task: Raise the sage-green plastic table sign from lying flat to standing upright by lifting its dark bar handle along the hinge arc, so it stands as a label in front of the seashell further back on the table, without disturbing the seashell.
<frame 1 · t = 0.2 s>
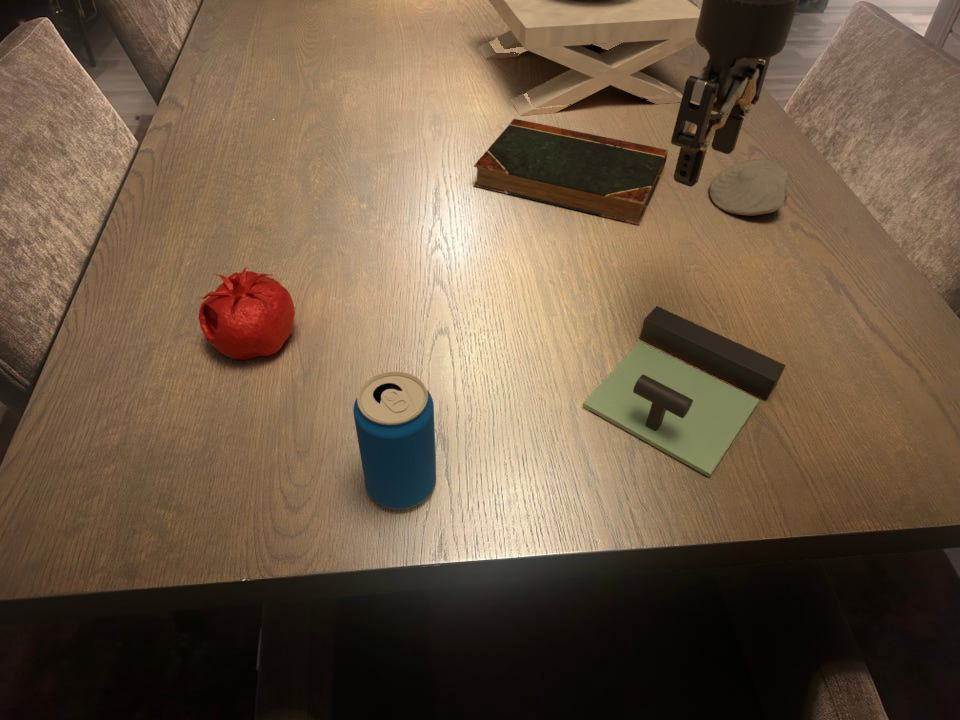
hand: (704, 166, 67), 19 cm above the table, tool pointing down, fingers open, 8 cm apart
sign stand: (697, 371, 73), on the table
seashell: (743, 201, 99), on the table
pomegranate: (255, 339, 75), on the table
book: (570, 178, 102), on the table
sign: (677, 385, 67), point 3 cm above the table, hinge at 0.0°
wooden side table: (576, 73, 130), on the table
beverage can: (401, 484, 62), on the table
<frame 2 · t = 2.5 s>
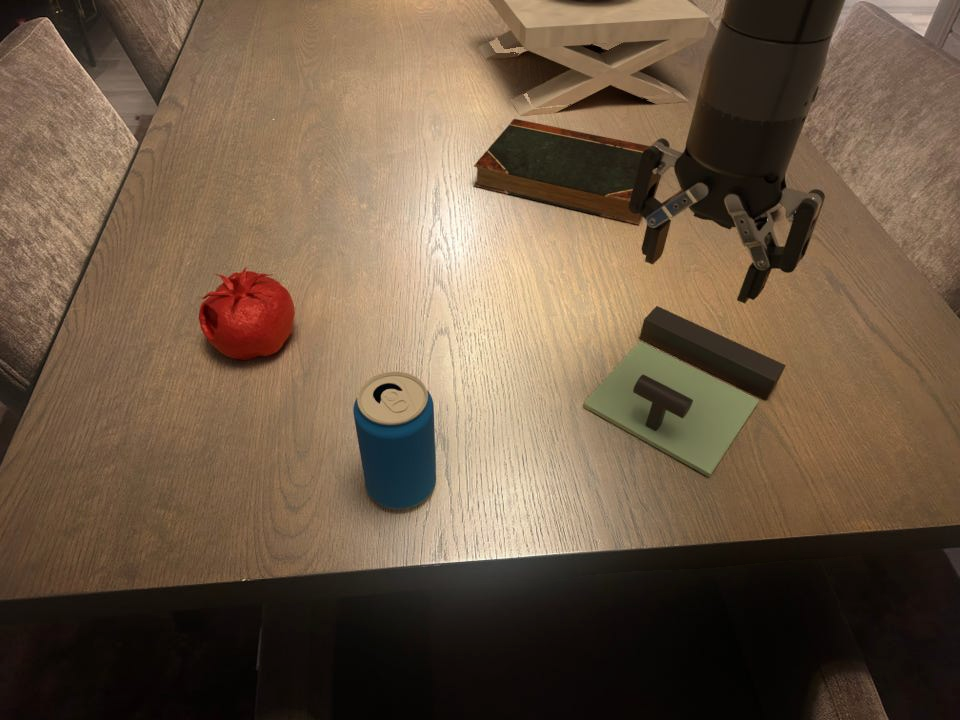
hand: (697, 278, 58), 16 cm above the table, tool pointing down, fingers open, 8 cm apart
nothing on the table moved.
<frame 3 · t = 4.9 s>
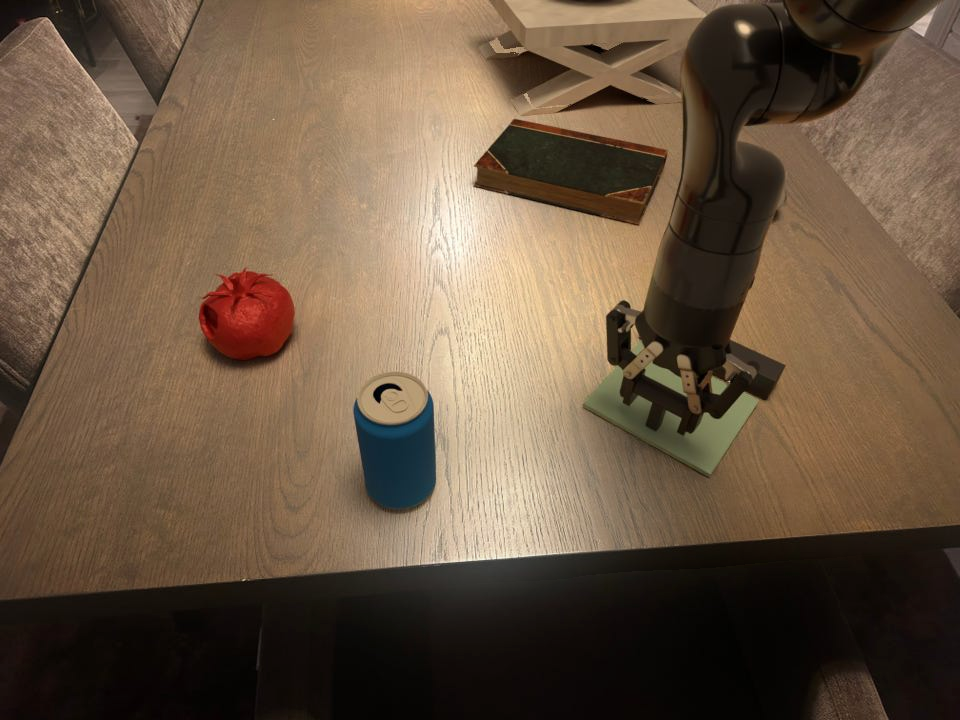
hand: (657, 413, 65), 2 cm above the table, tool pointing down, fingers closed on sign, 5 cm apart
sign: (677, 385, 67), point 3 cm above the table, hinge at -0.1°, touching gripper
everything else where it was.
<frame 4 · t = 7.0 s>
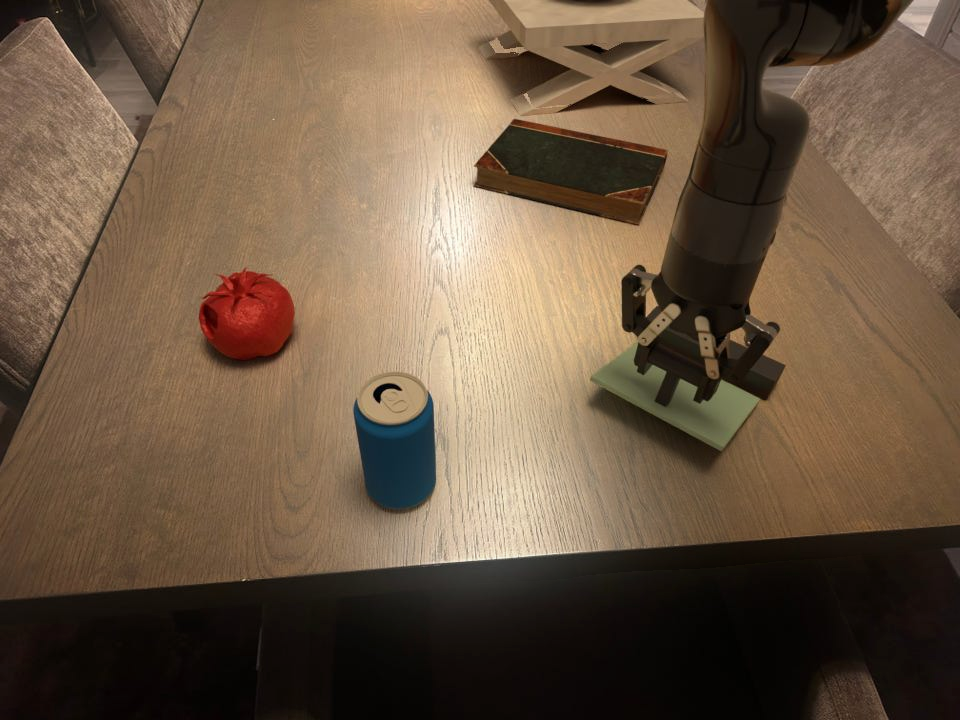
hand: (672, 382, 64), 5 cm above the table, tool pointing down, fingers closed on sign, 5 cm apart
sign: (685, 368, 67), point 5 cm above the table, hinge at 16.6°, touching gripper
everything else where it was.
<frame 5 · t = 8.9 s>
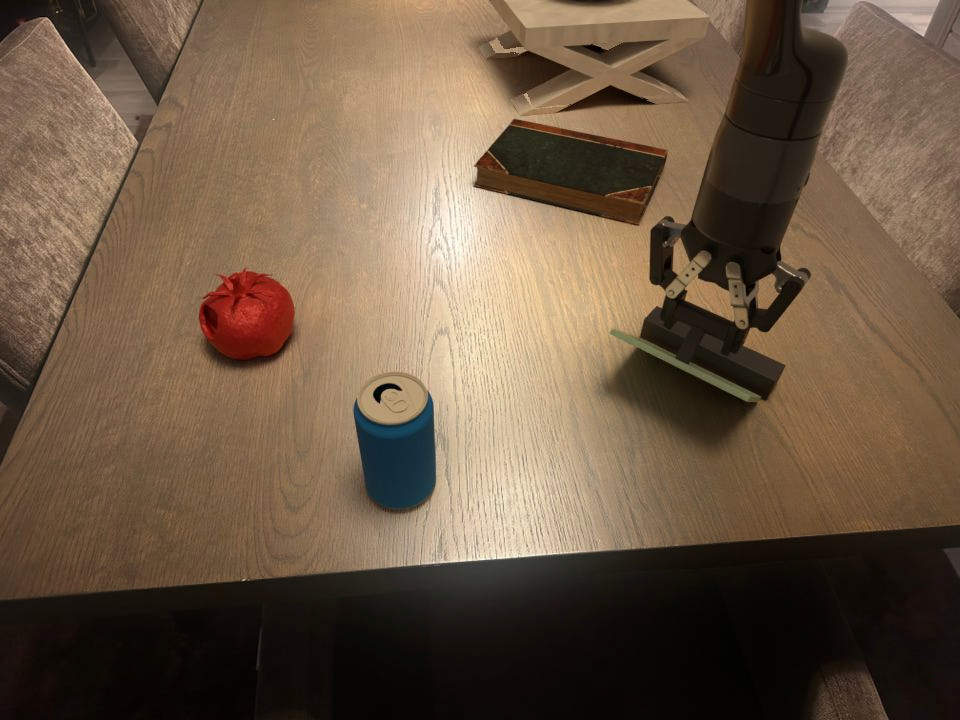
hand: (698, 337, 64), 9 cm above the table, tool pointing down, fingers closed on sign, 5 cm apart
sign: (700, 342, 67), point 7 cm above the table, hinge at 41.0°, touching gripper
everything else where it was.
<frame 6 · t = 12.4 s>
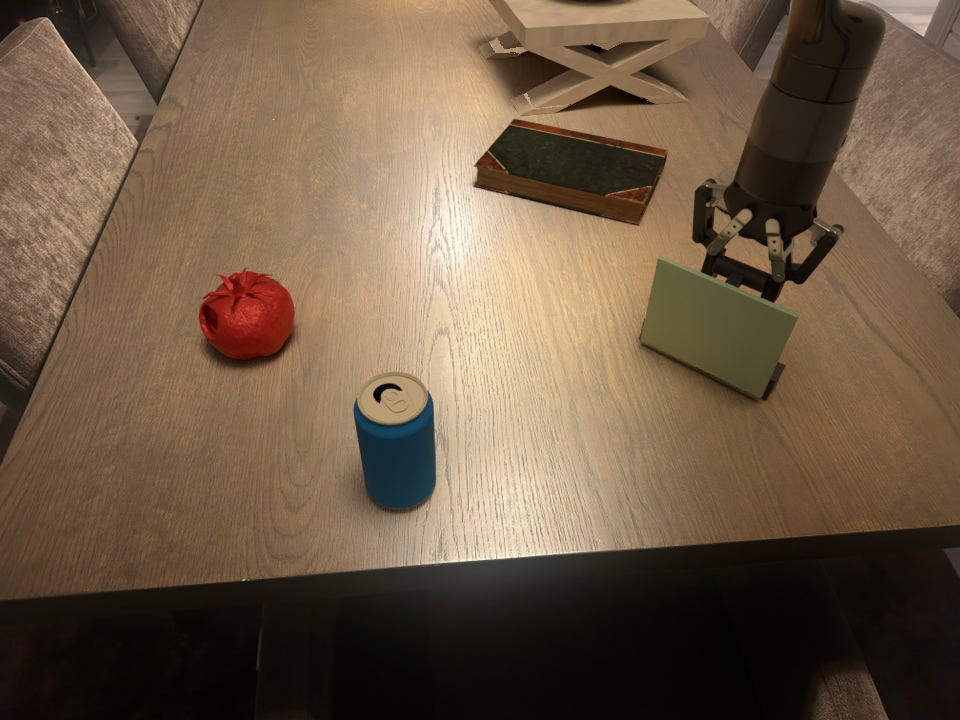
hand: (736, 292, 70), 8 cm above the table, tool pointing down, fingers closed on sign, 5 cm apart
sign: (722, 313, 69), point 7 cm above the table, hinge at 84.4°, touching gripper
everything else where it was.
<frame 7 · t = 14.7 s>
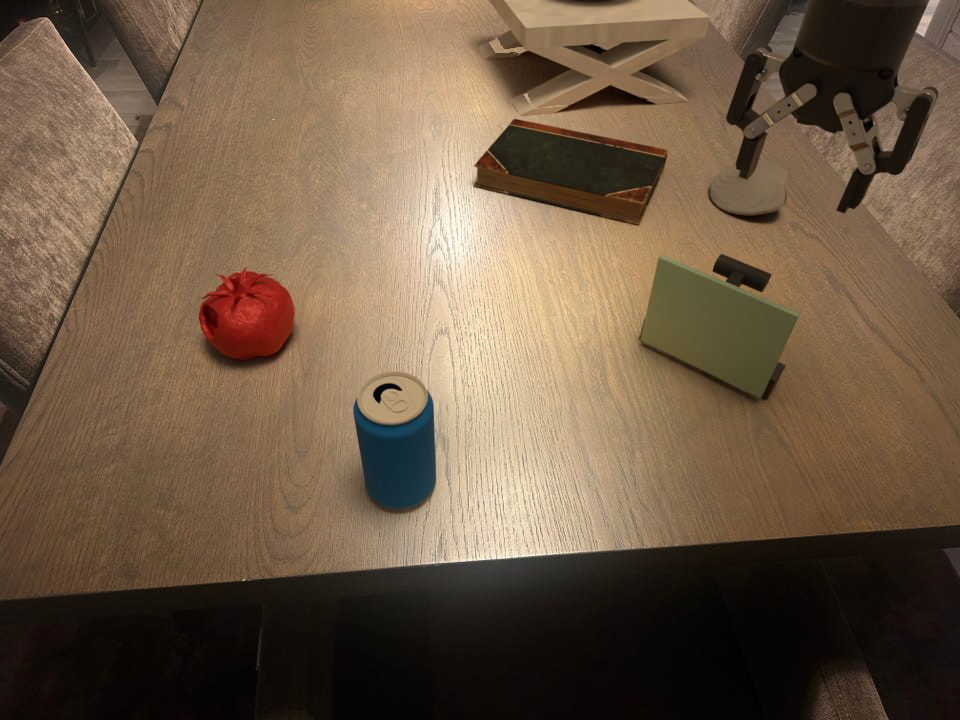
hand: (793, 191, 58), 22 cm above the table, tool pointing down, fingers open, 8 cm apart
sign: (723, 313, 69), point 7 cm above the table, hinge at 85.0°
everything else where it was.
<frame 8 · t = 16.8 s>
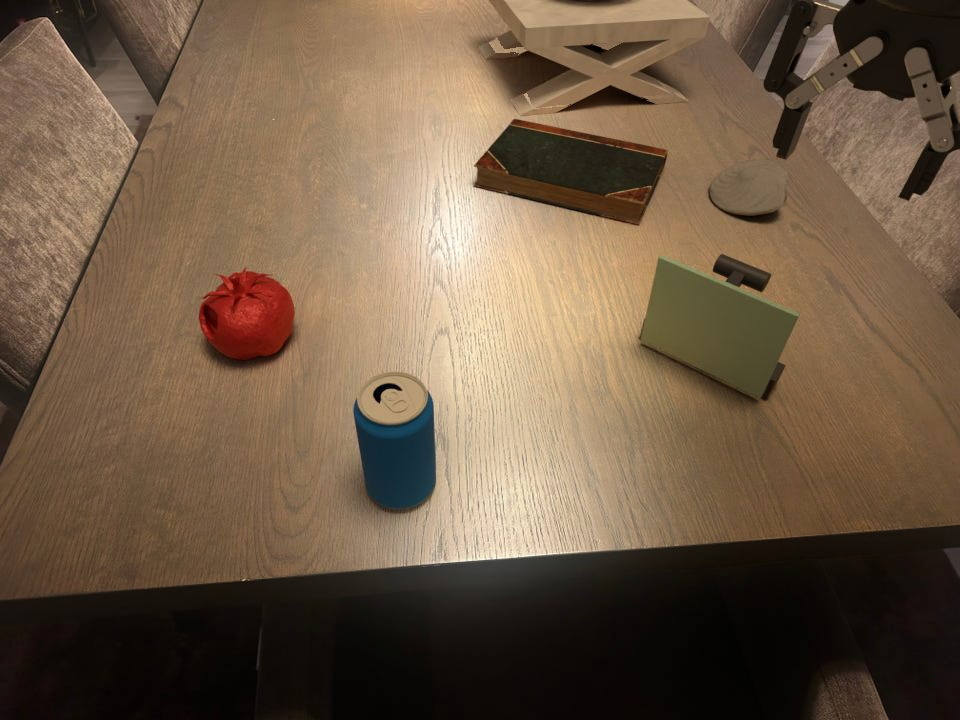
hand: (843, 174, 48), 28 cm above the table, tool pointing down, fingers open, 8 cm apart
nothing on the table moved.
at the end: sign at +85° (first picture: +0°) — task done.
